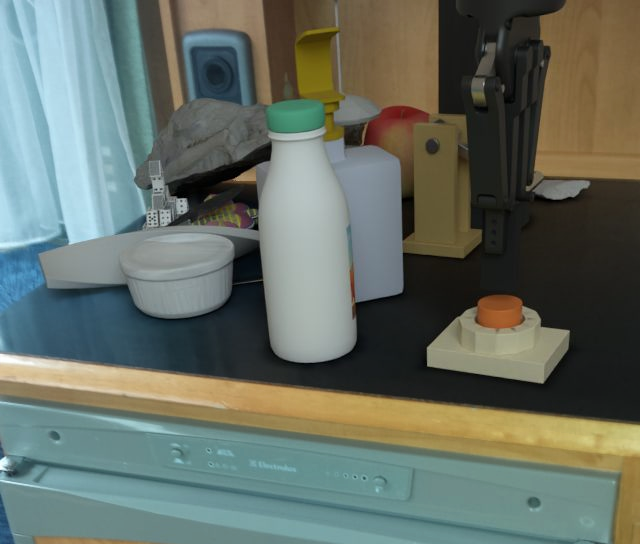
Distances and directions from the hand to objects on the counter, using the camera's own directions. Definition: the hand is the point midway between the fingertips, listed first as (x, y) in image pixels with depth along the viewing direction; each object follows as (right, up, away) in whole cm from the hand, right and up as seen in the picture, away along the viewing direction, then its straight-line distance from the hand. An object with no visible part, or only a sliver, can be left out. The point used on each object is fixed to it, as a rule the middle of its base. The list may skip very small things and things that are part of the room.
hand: (499, 287), depth 81 cm
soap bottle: (-13, +4, +17) cm, 22 cm away
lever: (+1, +18, +21) cm, 27 cm away
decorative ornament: (-21, +18, +34) cm, 44 cm away
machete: (-28, +16, +30) cm, 44 cm away
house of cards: (-31, +18, +38) cm, 52 cm away
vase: (+4, +17, +33) cm, 37 cm away
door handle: (-29, +10, +21) cm, 37 cm away
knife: (-22, +6, +21) cm, 31 cm away
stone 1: (-25, +25, +42) cm, 55 cm away
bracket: (-1, +12, +27) cm, 30 cm away
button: (0, -2, +2) cm, 3 cm away
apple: (-4, +23, +43) cm, 49 cm away
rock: (-18, +31, +35) cm, 49 cm away
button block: (+1, -5, +4) cm, 6 cm away
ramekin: (-28, +4, +19) cm, 34 cm away
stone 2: (+14, +22, +39) cm, 47 cm away
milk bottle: (-15, -3, +8) cm, 17 cm away
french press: (-12, +13, +30) cm, 34 cm away
